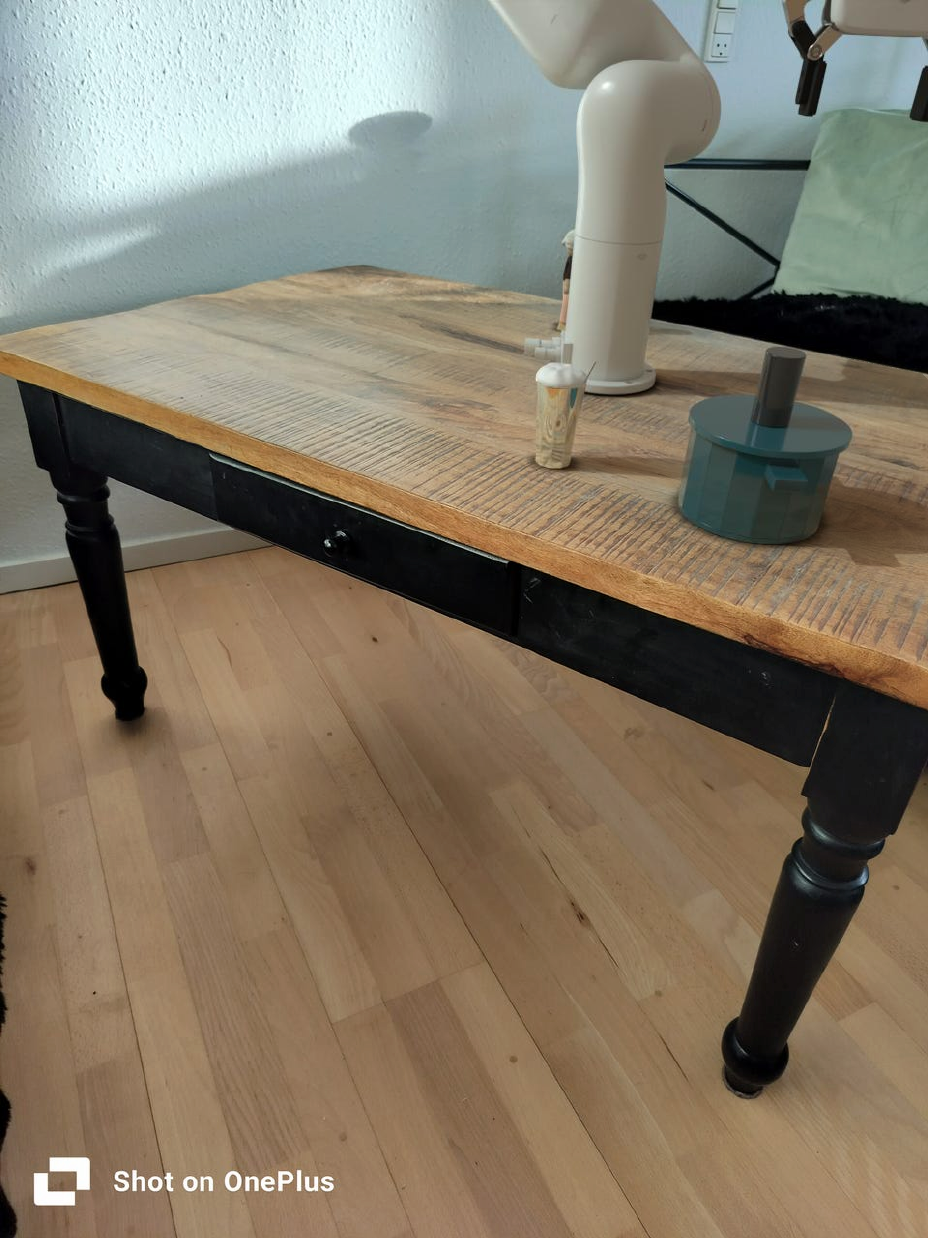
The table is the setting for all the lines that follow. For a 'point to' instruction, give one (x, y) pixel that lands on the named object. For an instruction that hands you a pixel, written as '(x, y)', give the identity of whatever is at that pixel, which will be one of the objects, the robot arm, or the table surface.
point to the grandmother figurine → (566, 278)
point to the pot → (753, 493)
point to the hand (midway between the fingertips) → (862, 117)
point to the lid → (772, 416)
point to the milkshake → (558, 412)
